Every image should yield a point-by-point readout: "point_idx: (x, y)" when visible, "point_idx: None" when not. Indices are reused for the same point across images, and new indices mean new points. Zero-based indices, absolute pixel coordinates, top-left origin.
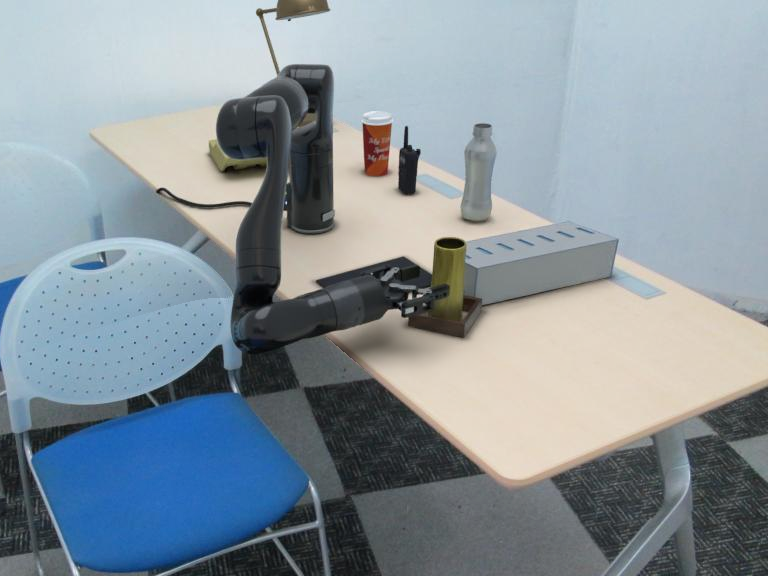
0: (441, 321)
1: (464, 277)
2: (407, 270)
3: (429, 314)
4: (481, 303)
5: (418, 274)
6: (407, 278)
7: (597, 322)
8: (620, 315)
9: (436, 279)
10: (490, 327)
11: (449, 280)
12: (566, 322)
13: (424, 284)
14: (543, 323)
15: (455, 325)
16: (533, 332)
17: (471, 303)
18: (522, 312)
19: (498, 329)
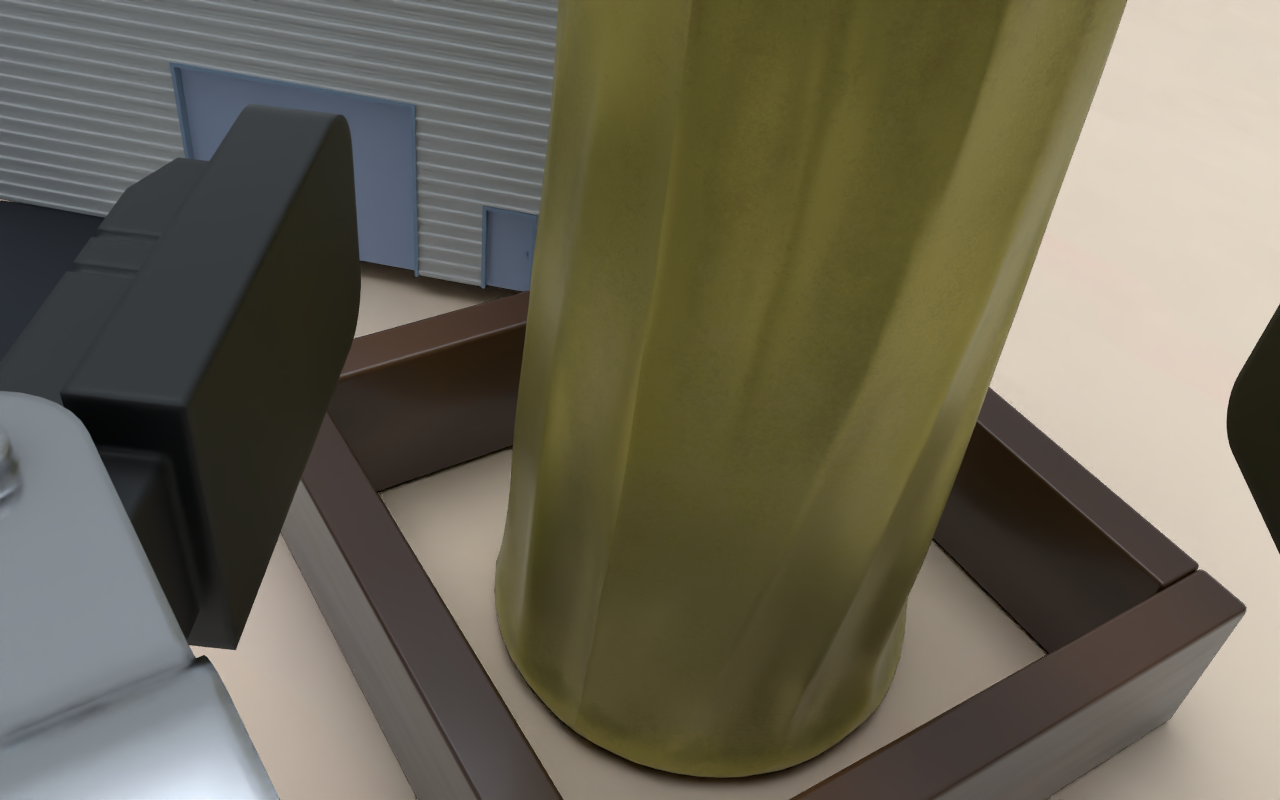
0: (1029, 755)
1: (512, 87)
2: (249, 328)
3: (627, 700)
4: None
5: (352, 286)
6: (284, 488)
7: (1204, 78)
8: (1162, 7)
9: (847, 235)
10: (1049, 434)
11: (1064, 159)
12: (1154, 142)
13: (7, 324)
14: (1123, 207)
15: (1155, 682)
16: (1231, 301)
17: None
18: None
19: (1106, 415)
